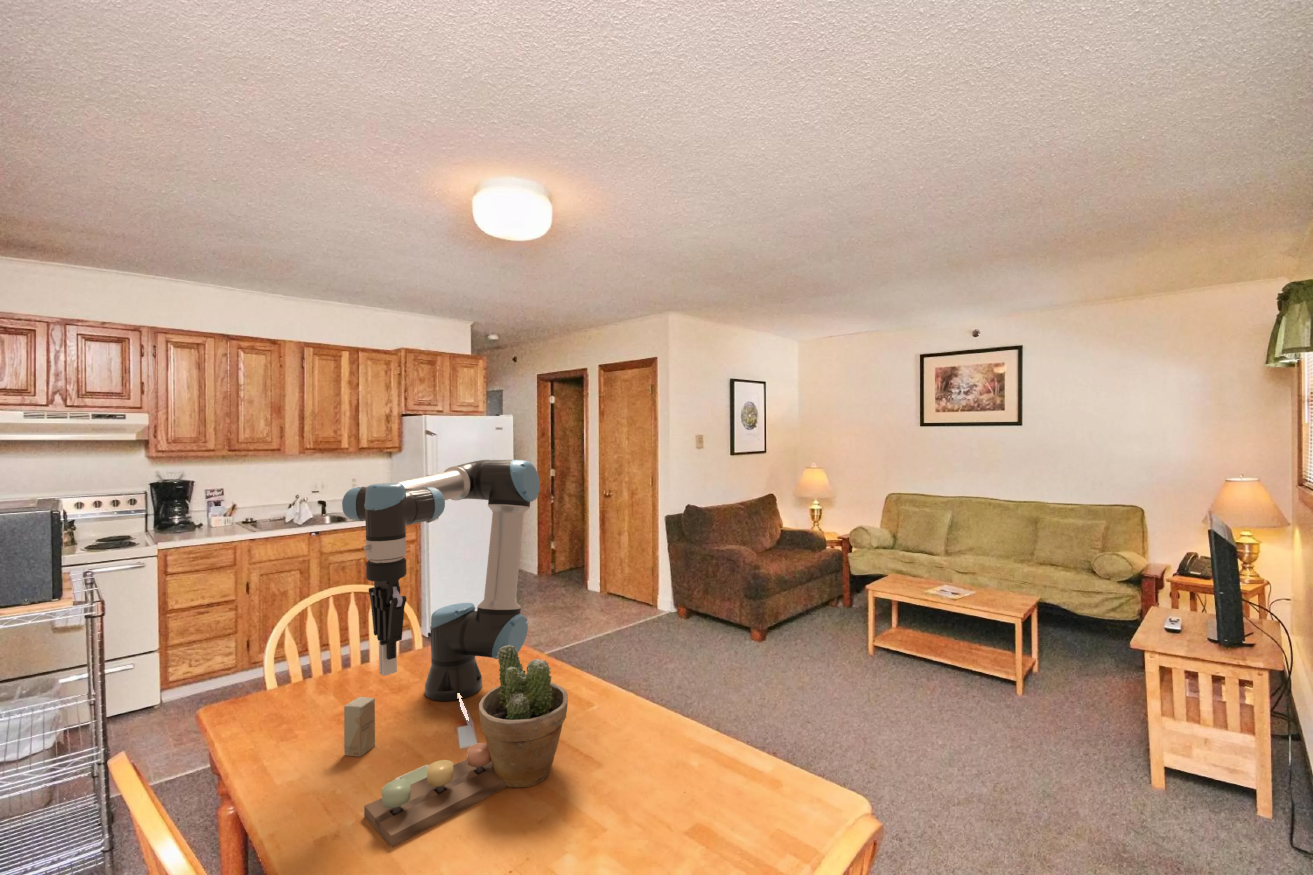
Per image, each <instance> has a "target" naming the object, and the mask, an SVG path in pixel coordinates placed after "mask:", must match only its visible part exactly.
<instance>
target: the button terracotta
mask: <svg viewBox="0 0 1313 875" xmlns="http://www.w3.org/2000/svg"><path fill="white" fill-rule="evenodd" d="M466 750H467V752H466V753H467V754H466V756H467V758H466V759H467V763H468V765H469V766H471V767H476V772H477V773H481V772H483V766H485V765H487V764H488V763H490V762H491V758H490V753H489V750H488V746H487V742H478V743H474V744H472V745H470V746H469V747H468V748H467V749H466Z"/></svg>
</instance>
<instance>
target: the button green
mask: <svg viewBox="0 0 1313 875" xmlns="http://www.w3.org/2000/svg"><path fill="white" fill-rule="evenodd" d="M410 797H411V785H410V781H409V780H407V779H397V780H391V781H389V782H387V783H386V784H384V785H383V787H382V789H381V798H382V805H383V806H384V807H387V808H393V814H397V813H399V812H400V811H401V805H403V804H405V803H407V802H408V801H409V799H410Z"/></svg>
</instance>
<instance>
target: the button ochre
mask: <svg viewBox="0 0 1313 875" xmlns="http://www.w3.org/2000/svg"><path fill="white" fill-rule="evenodd" d="M428 765H429V766H428V768H427V783H428V785H430V786H434V787H437V792H443V791H444V785H445V784H447V783H449V782H450V781H451V780H452V779H453V765H454V762H453V761H451V760H450V759H449V760H448V759H441V760H436V761H433V762H432V763H430V764H428Z"/></svg>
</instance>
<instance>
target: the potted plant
mask: <svg viewBox="0 0 1313 875" xmlns="http://www.w3.org/2000/svg"><path fill="white" fill-rule="evenodd" d="M497 658H499V659H497V661H498V664H499V669H498V670H499V672H500V673H499V674H498V675H499V682H500V685H499V686H498V685H497V686H496V687H495V688H492V689H490V690H489V691H488V692H487V693H485V694H484V695H483V696H482V698H481V699H480V702H479V703H478V715H479V716H478V717H479V721H480V723H479V724H480V729H481V731H482V732H483V733H484V737H485V743H487V746H488V750H489V753H490V758H491V762H492V765H493V768H494V771H495V773H496V774H497V775H498V776H499V777H501V778H504V781H505V785H507V787H510V788H531V787H533V786H536V785H538V784H540V783H542V782H543V781H544V780H546V778H547V777H548V776H549V773H550V771H551V770H552V766H553V762H554V760H555V755H556V753H557V749H558V745H559V741H560V736H561V733H562V729H563V724H564V722H565V721H566V719H567V713H568V701H569V693H568V691H567V690H566V689H565V688H564V687H562V686H561V685H559V684H557V683H555V682H552V675H550V674H551V673H552V671H550V670H551V669H552V668H551V666H550V665H549V662H547V660H543V659H541V658H540V659H539V658H536V659H532V660H530V661H529V663H528V664H527V665H526V670H524V667H523V666H522V665H523V664H522V663H521V660H520V657H519V652H516V648H515V647H514V646H512V645H508V646H503V647H501V648H500V650H499V652H498V655H497Z"/></svg>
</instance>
